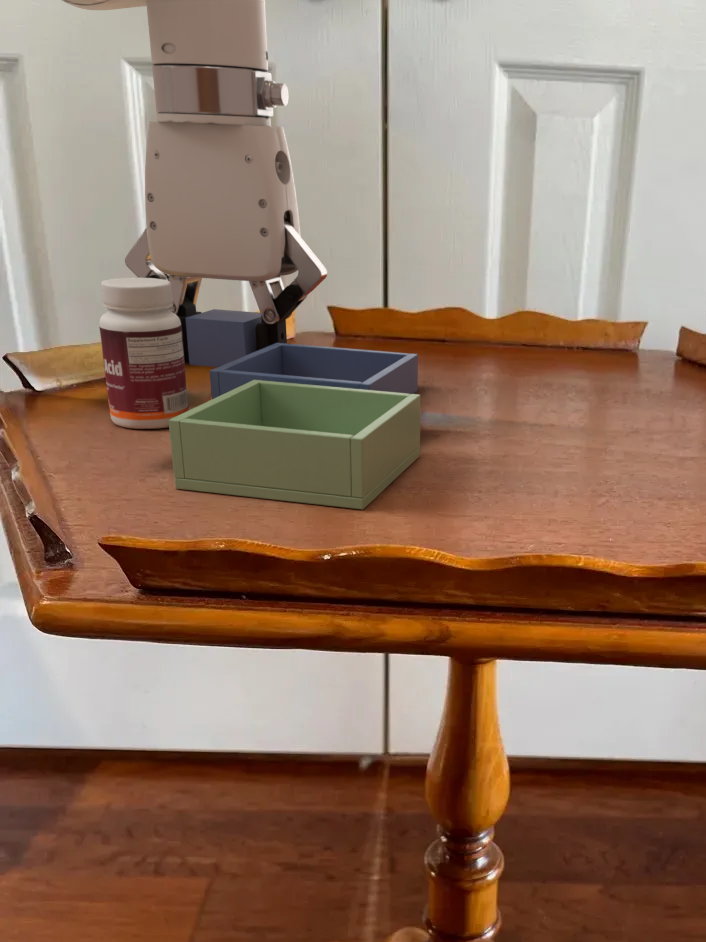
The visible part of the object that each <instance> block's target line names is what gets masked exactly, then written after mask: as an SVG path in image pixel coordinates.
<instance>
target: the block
mask: <svg viewBox="0 0 706 942" xmlns="http://www.w3.org/2000/svg"><path fill="white" fill-rule="evenodd" d="M261 322H262V321H261V313H260V312H255V311H245V310H230V309H217V308H216V309H215V308H213V309H210V310H207V311H206V310H205V311H204V312H201V313H200V314H197V315H193V316H190V317H187V318H186V329H187V340H188V352H189V362H188V363H189V366H201V367H210V368H211V367H212V368H217V367H220V366H222V365H224V364H227V363H229V362H232V361H234V360H236V359H239V358H241V357H244V356H246V355H249V354H251V353H253V352H256V351H257V348H256V331H255V328H256V325H257V324H258V323H261Z"/></svg>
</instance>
